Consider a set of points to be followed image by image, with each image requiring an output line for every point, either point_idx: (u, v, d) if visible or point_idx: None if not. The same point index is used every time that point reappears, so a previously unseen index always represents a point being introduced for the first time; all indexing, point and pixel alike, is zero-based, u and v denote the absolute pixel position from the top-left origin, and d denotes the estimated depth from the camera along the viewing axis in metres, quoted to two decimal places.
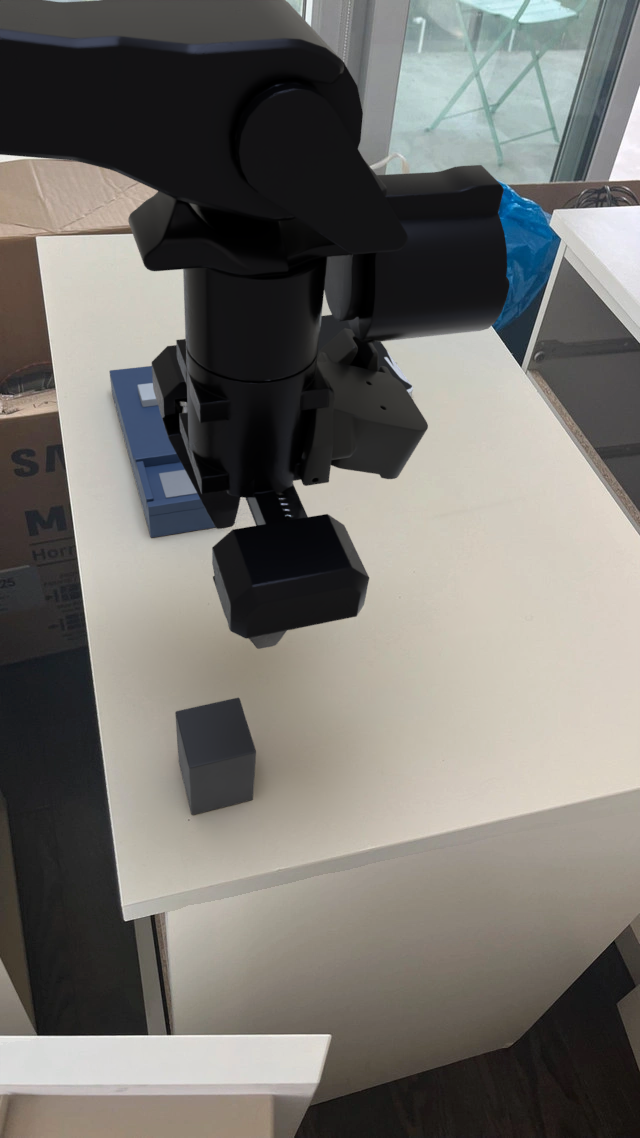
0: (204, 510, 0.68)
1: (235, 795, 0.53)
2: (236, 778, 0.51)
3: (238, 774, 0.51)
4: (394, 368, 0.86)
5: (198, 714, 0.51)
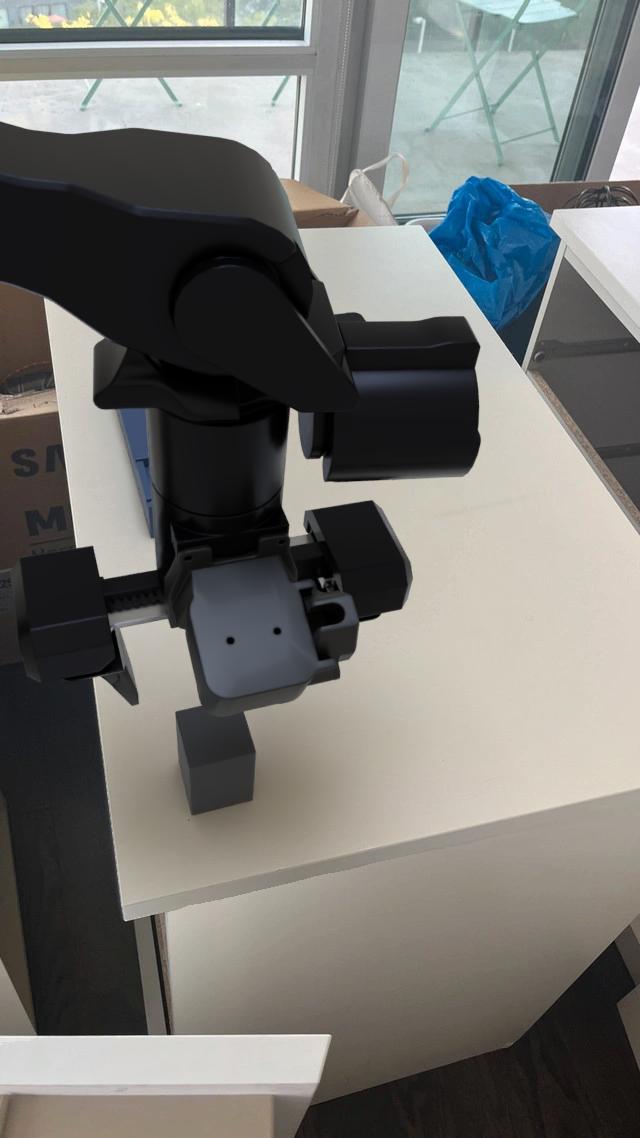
0: None
1: (235, 795, 0.53)
2: (236, 778, 0.51)
3: (238, 774, 0.51)
4: None
5: (198, 714, 0.51)
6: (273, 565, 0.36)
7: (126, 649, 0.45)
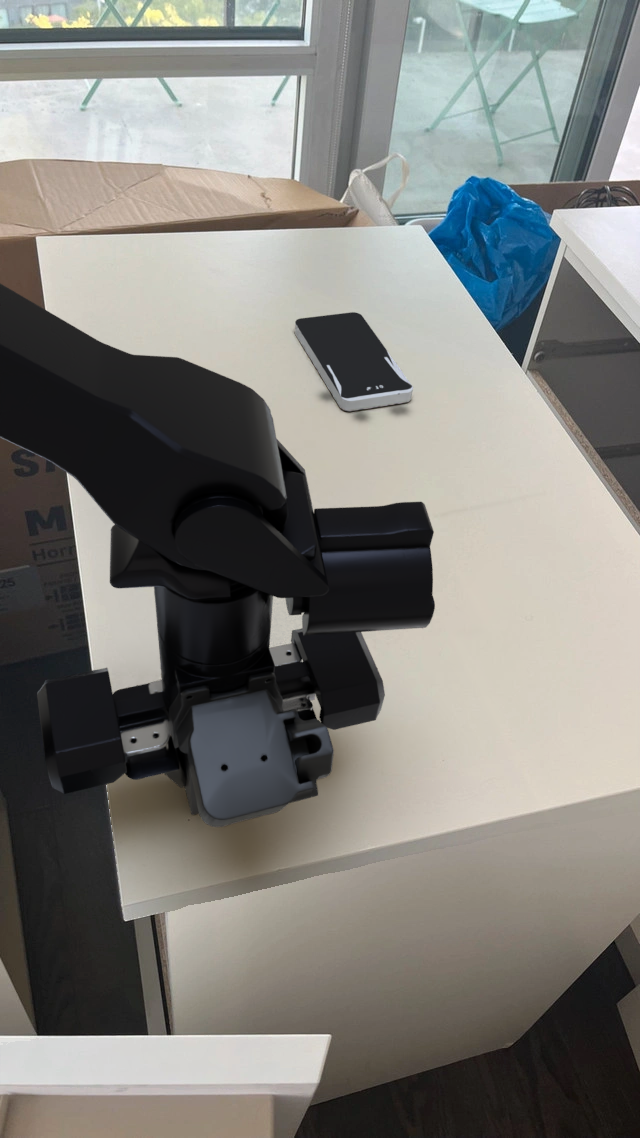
0: None
1: None
2: None
3: None
4: (394, 368, 0.86)
5: None
6: (261, 699, 0.43)
7: None
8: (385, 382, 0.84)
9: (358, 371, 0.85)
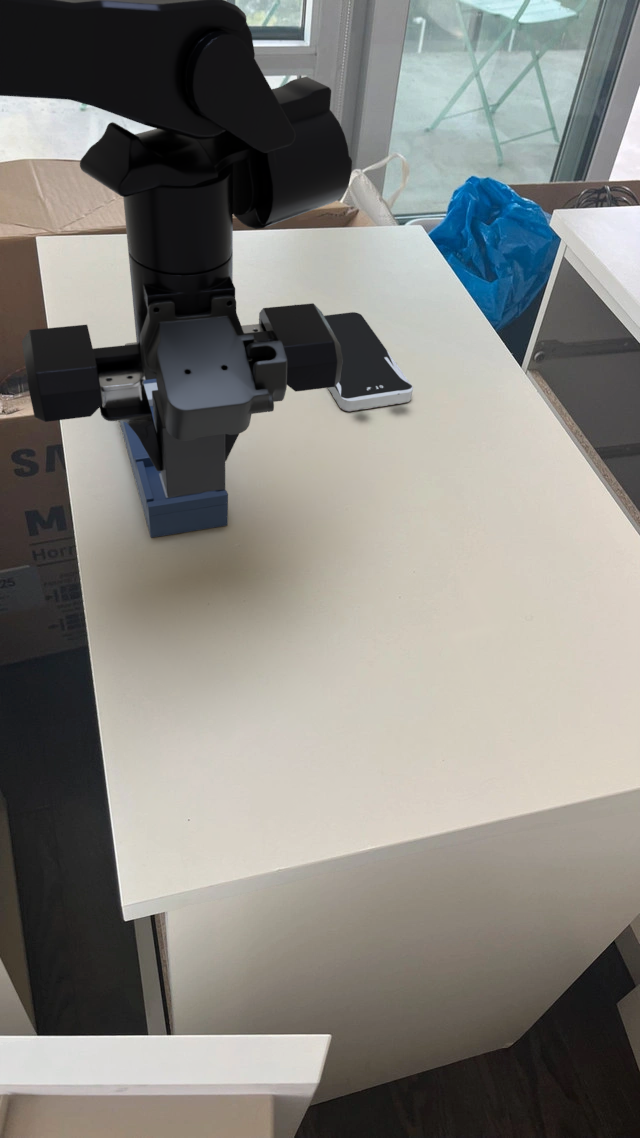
0: (204, 510, 0.68)
1: (208, 478, 0.57)
2: (207, 453, 0.56)
3: (209, 447, 0.55)
4: (394, 368, 0.86)
5: None
6: (223, 322, 0.47)
7: None
8: (385, 382, 0.84)
9: (358, 371, 0.85)
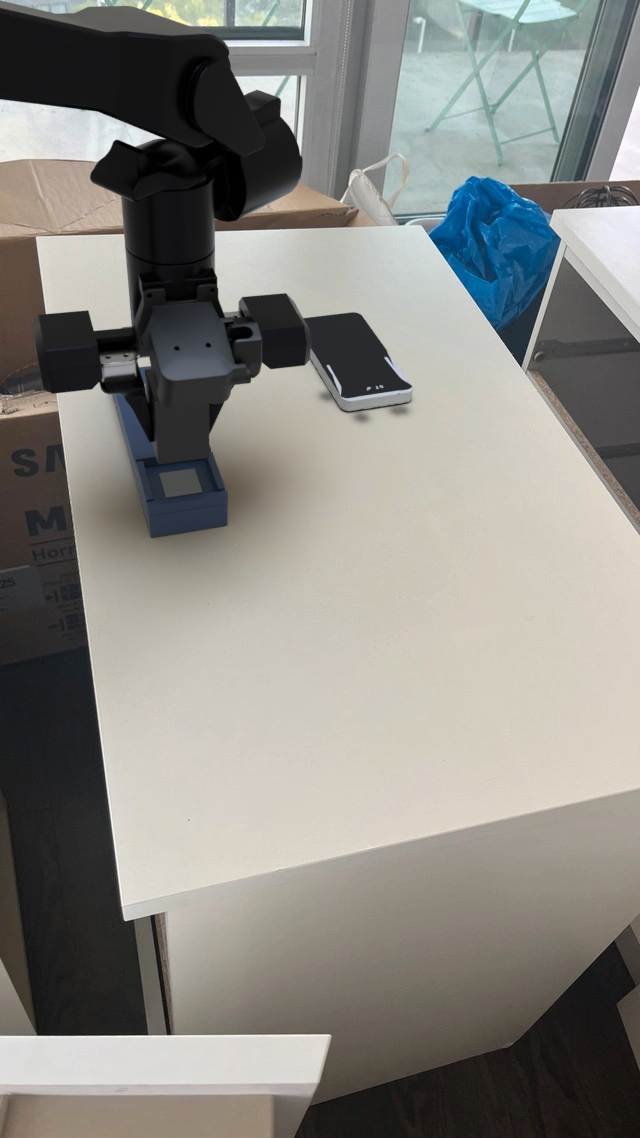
0: (204, 510, 0.68)
1: (194, 447, 0.65)
2: (193, 424, 0.63)
3: (195, 419, 0.63)
4: (394, 368, 0.86)
5: None
6: (207, 307, 0.55)
7: None
8: (385, 382, 0.84)
9: (358, 371, 0.85)
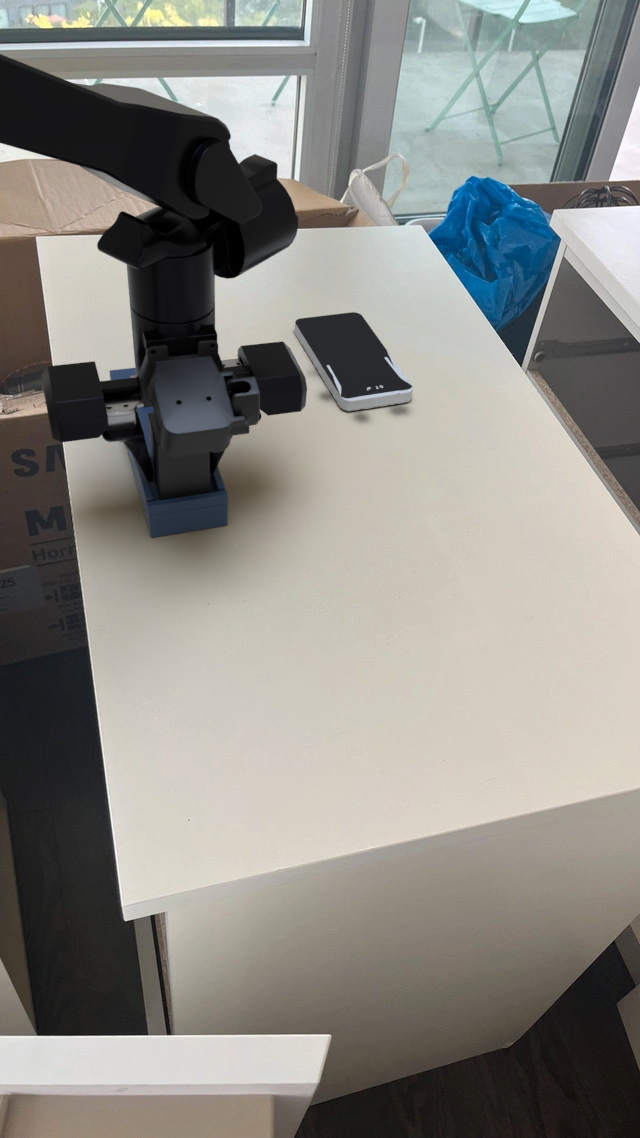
0: (204, 510, 0.68)
1: (195, 486, 0.68)
2: (194, 465, 0.66)
3: (196, 460, 0.66)
4: (394, 368, 0.86)
5: None
6: (207, 361, 0.58)
7: None
8: (385, 382, 0.84)
9: (358, 371, 0.85)
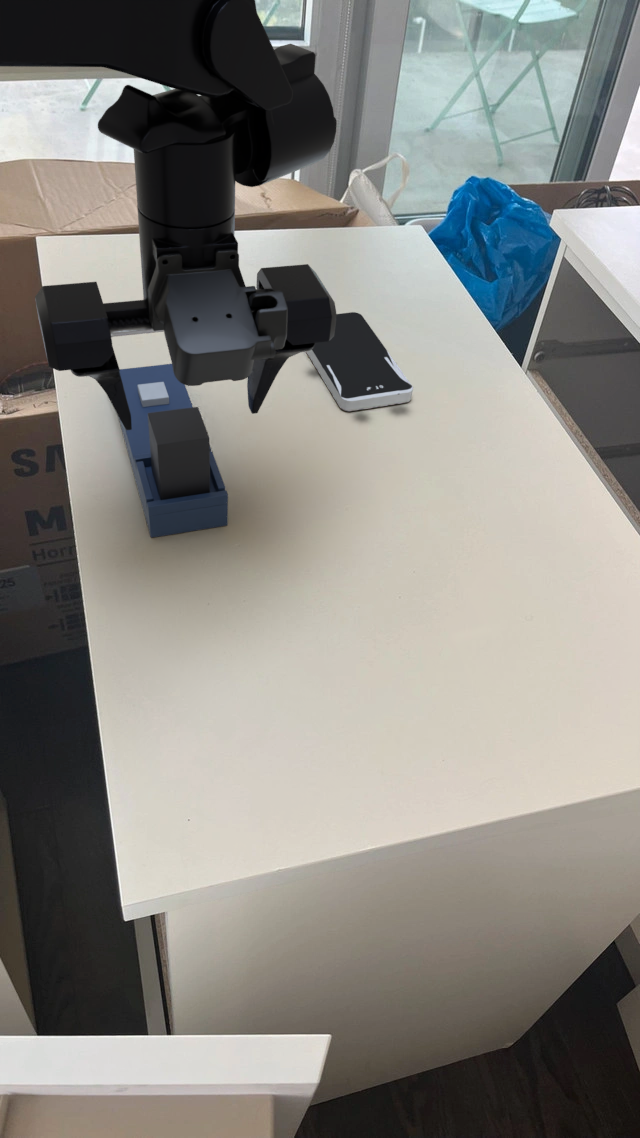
0: (204, 510, 0.68)
1: (195, 486, 0.68)
2: (194, 465, 0.66)
3: (196, 460, 0.66)
4: (394, 368, 0.86)
5: (165, 415, 0.66)
6: (227, 275, 0.50)
7: None
8: (385, 382, 0.84)
9: (358, 371, 0.85)
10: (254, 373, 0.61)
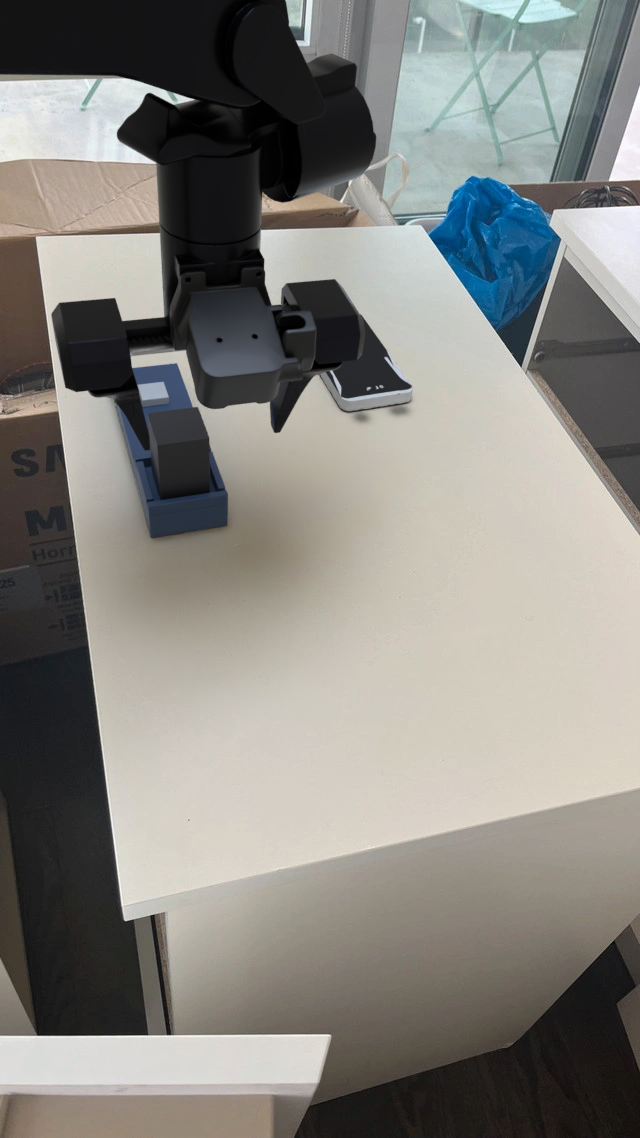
0: (204, 510, 0.68)
1: (195, 486, 0.68)
2: (194, 465, 0.66)
3: (196, 460, 0.66)
4: (394, 368, 0.86)
5: (165, 415, 0.66)
6: (252, 293, 0.48)
7: None
8: (385, 382, 0.84)
9: (358, 371, 0.85)
10: (277, 391, 0.58)
